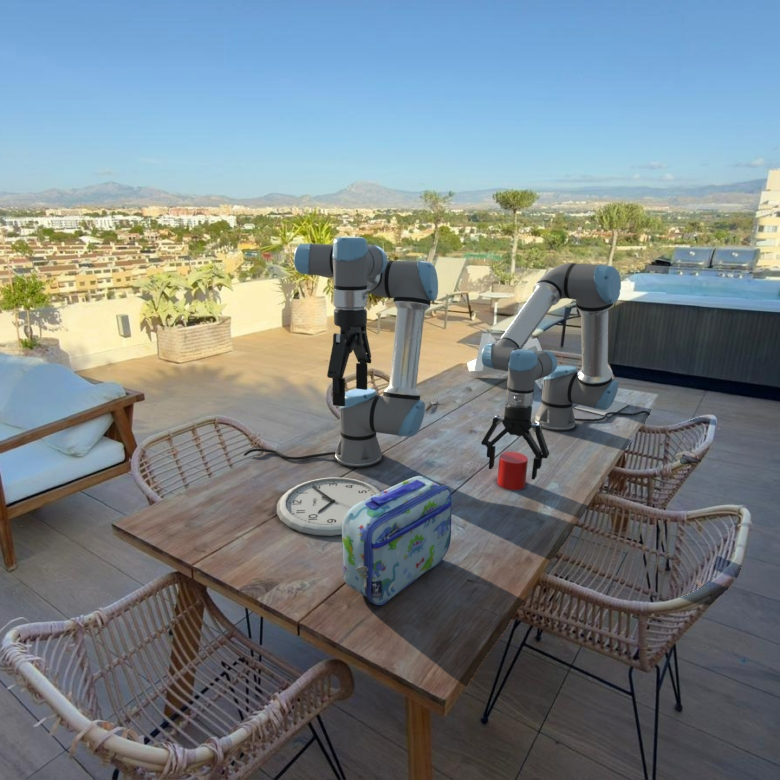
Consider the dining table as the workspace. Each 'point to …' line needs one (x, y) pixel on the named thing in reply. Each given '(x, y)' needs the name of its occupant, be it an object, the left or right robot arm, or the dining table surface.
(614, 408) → the invitation card
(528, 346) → the white plastic object
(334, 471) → the dining table surface
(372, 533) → the lunch box
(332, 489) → the wall clock
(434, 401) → the fork
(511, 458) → the canister
